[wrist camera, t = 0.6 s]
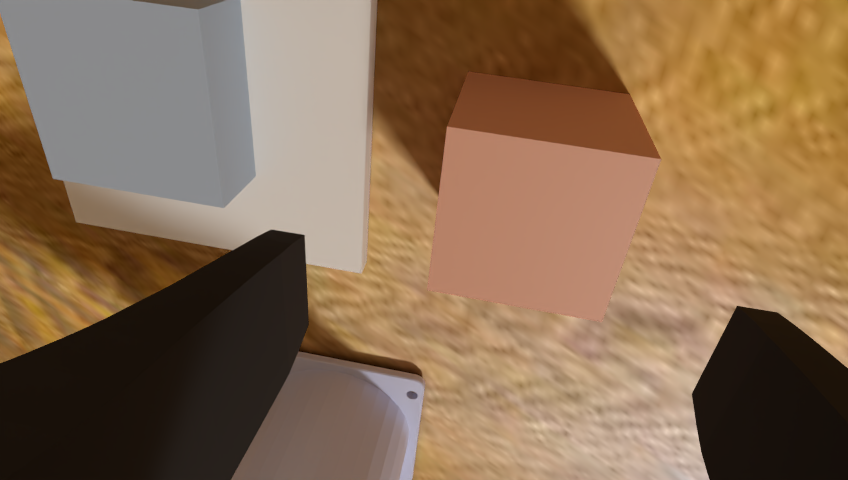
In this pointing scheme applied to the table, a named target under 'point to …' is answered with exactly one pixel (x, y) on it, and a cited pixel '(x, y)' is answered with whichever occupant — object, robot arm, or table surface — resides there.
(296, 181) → the board
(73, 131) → the base brick
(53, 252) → the table surface
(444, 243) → the top brick
